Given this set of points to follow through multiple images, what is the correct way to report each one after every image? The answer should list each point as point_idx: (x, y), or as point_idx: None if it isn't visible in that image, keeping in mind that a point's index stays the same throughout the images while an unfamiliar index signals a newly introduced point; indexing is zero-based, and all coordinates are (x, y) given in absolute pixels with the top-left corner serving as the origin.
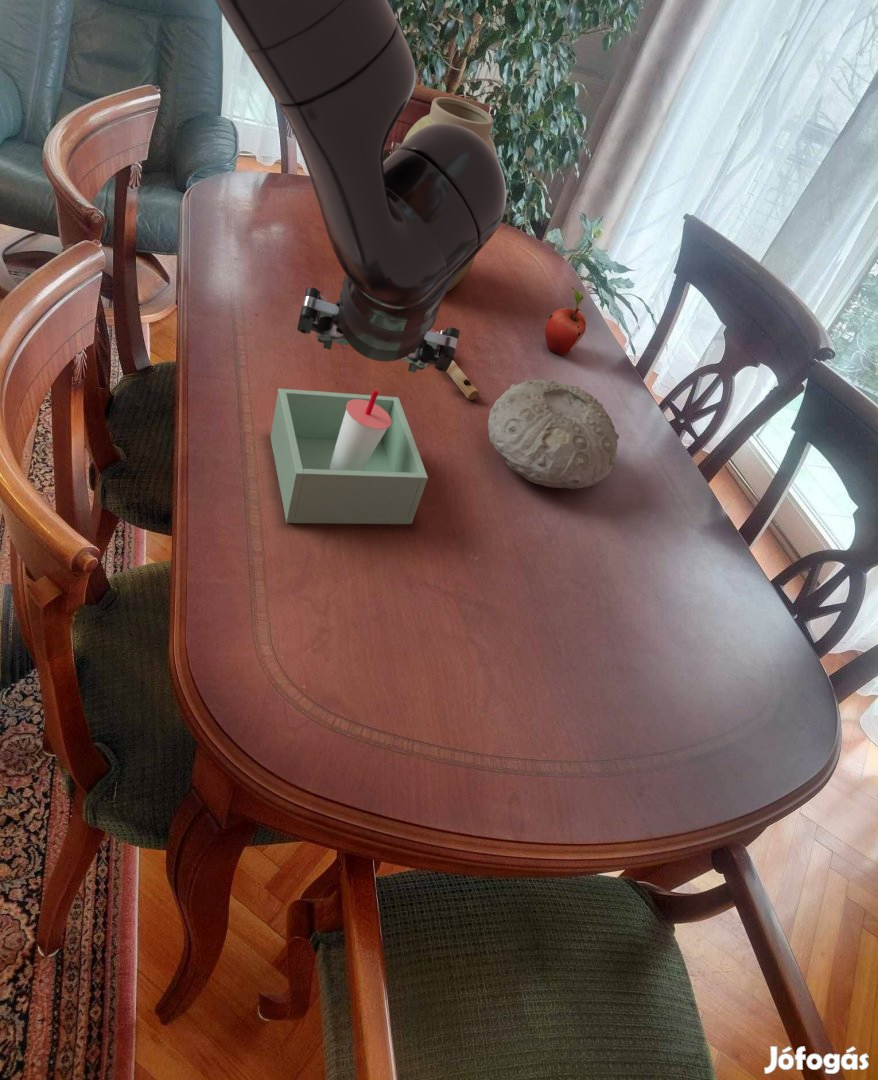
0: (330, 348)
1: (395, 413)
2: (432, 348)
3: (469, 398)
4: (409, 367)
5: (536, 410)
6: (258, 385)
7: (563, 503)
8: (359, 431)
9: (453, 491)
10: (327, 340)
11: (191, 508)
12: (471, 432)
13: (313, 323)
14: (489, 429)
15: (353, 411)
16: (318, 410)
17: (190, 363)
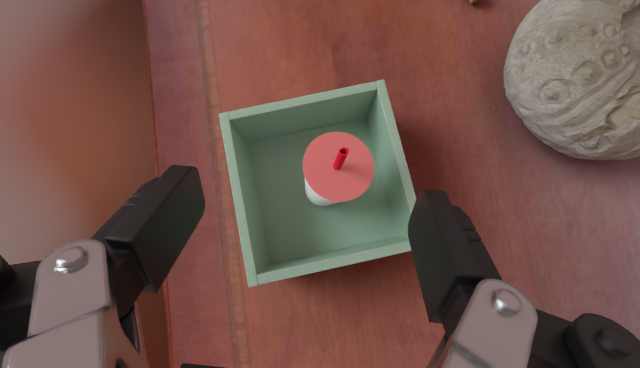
0: (195, 226)
1: (380, 109)
2: (533, 362)
3: (472, 2)
4: (412, 243)
5: (606, 62)
6: (224, 55)
7: (589, 160)
8: (327, 199)
9: (451, 174)
10: (137, 305)
11: (170, 272)
12: (474, 63)
13: (21, 337)
14: (508, 82)
15: (314, 172)
16: (280, 119)
17: (150, 41)
